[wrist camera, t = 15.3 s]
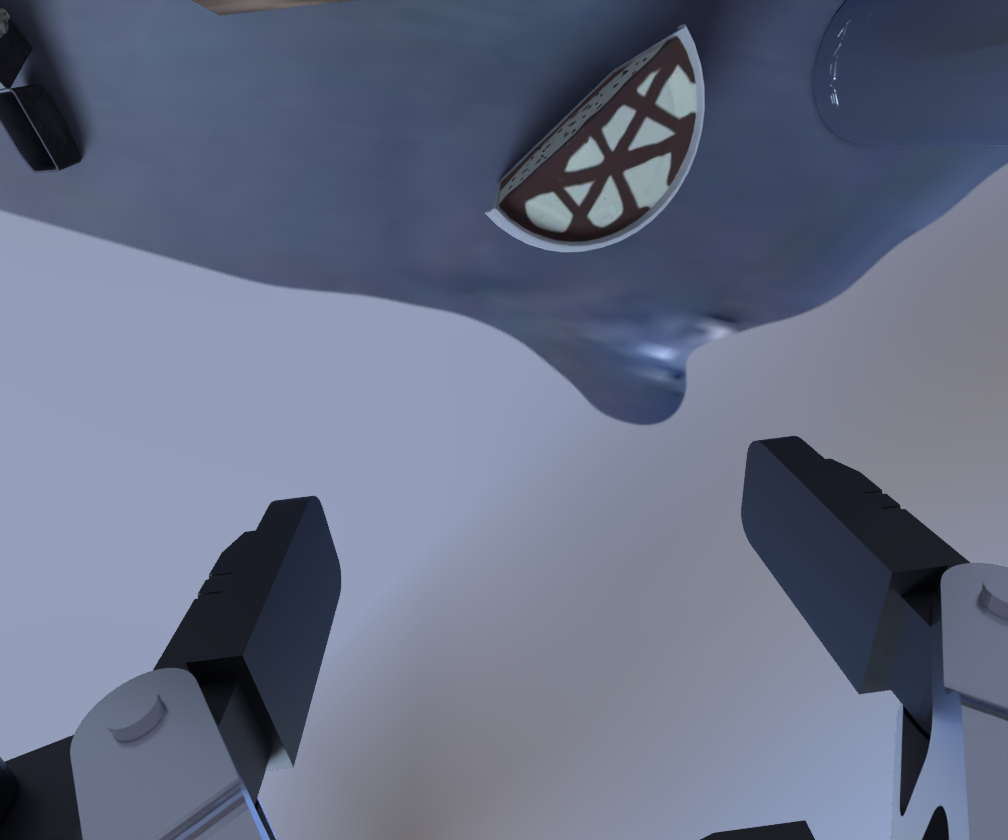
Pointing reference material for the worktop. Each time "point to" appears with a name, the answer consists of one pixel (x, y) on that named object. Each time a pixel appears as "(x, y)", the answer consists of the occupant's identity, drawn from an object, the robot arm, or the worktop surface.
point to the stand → (255, 5)
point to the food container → (610, 155)
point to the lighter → (30, 110)
